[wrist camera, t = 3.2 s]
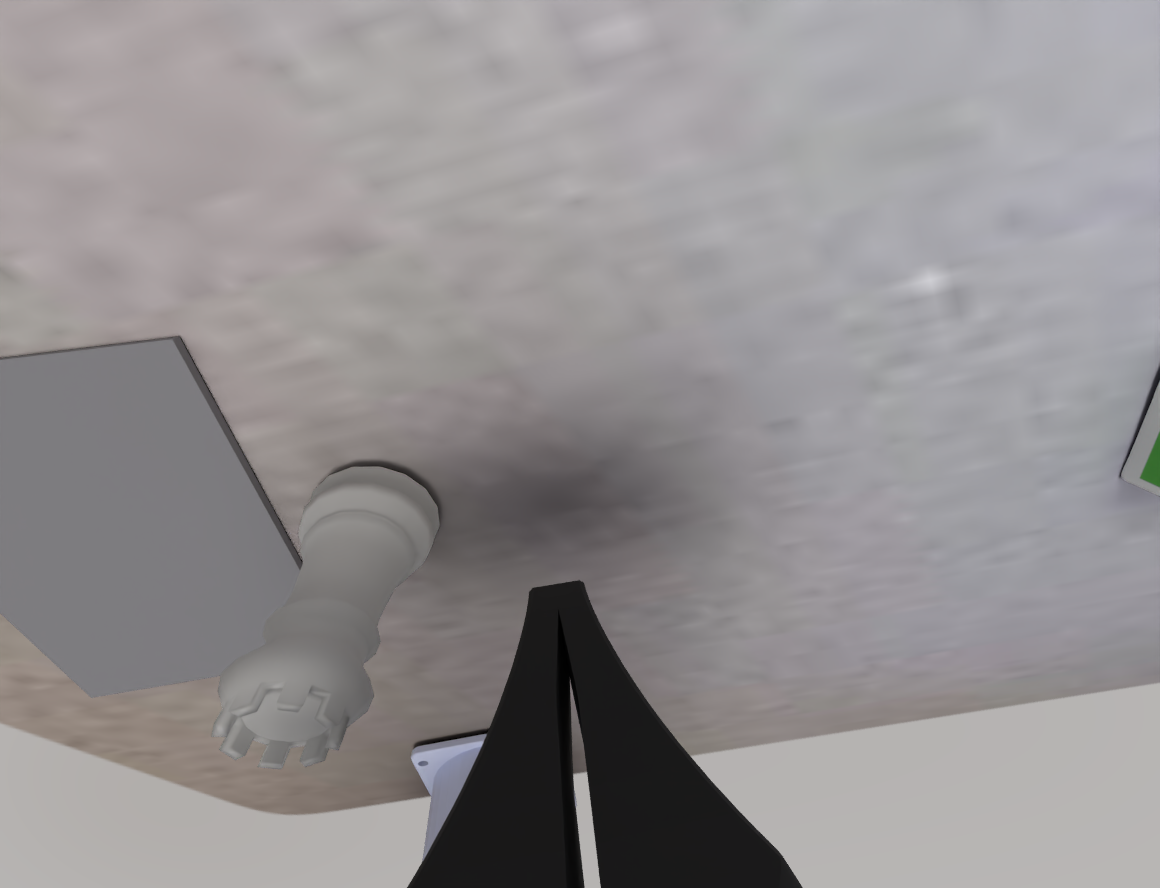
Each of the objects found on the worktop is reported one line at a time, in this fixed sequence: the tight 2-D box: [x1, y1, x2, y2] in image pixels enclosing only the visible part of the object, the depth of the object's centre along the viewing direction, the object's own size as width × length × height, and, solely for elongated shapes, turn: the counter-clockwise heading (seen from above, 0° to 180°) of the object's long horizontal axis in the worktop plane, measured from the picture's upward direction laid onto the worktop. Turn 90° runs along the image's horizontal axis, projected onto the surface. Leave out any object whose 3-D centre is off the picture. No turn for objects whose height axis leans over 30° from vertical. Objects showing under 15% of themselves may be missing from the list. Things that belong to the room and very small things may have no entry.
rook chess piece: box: [211, 467, 440, 769], centre depth 13 cm, size 4×4×8 cm
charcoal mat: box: [0, 337, 303, 698], centre depth 16 cm, size 14×10×1 cm
